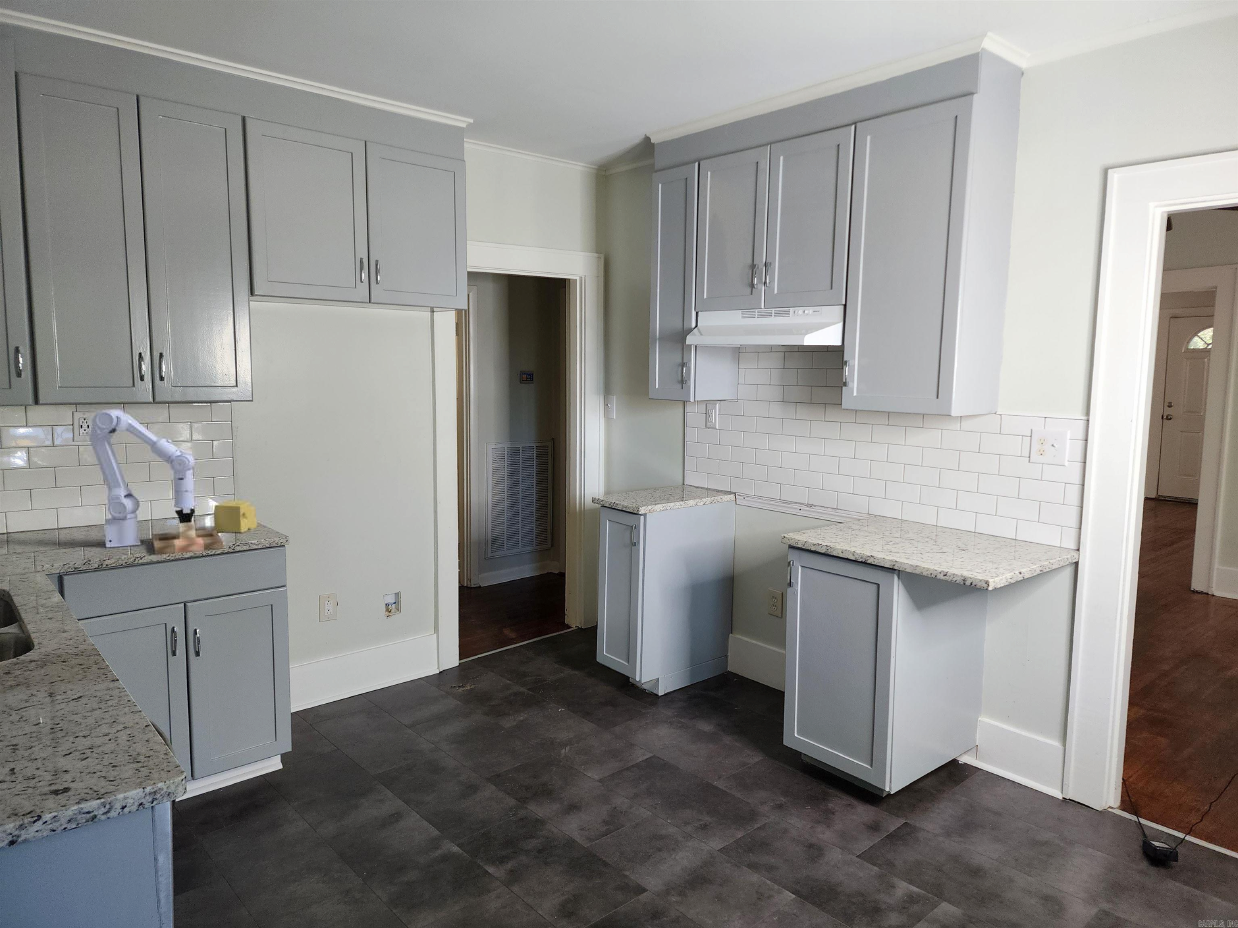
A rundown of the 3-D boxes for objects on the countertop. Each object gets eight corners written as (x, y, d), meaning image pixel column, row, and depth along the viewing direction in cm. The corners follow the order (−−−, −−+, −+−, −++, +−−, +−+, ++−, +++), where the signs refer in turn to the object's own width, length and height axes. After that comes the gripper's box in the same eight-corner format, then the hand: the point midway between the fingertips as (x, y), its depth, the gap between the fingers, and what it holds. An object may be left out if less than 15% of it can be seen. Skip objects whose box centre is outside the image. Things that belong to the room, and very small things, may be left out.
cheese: (257, 528, 298) (256, 500, 297) (241, 533, 288) (240, 505, 286) (230, 526, 299) (229, 499, 298) (213, 532, 289) (212, 504, 287)
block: (179, 539, 264) (179, 525, 264) (178, 536, 268) (178, 523, 267) (195, 538, 267) (194, 524, 266) (194, 535, 270) (193, 522, 270)
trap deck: (155, 554, 253) (155, 546, 253) (152, 541, 272) (151, 534, 272) (223, 548, 263) (222, 541, 263) (215, 536, 282) (215, 529, 282)
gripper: (199, 492, 265) (201, 533, 266) (195, 487, 277) (197, 526, 278) (175, 494, 261) (177, 535, 262) (171, 488, 273) (173, 528, 275)
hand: (185, 531), depth 270 cm, fingers closed
